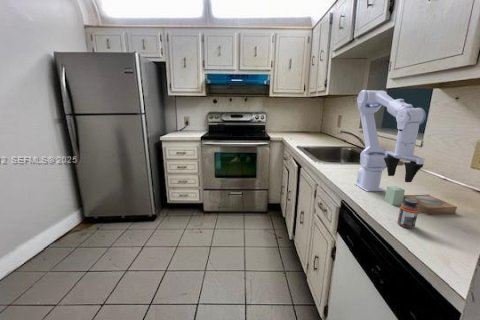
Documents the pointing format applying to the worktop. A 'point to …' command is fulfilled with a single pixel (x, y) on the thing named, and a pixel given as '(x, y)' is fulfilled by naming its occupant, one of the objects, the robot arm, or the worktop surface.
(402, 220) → the supplement bottle
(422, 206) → the walnut base
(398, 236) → the worktop surface
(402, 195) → the sage block
